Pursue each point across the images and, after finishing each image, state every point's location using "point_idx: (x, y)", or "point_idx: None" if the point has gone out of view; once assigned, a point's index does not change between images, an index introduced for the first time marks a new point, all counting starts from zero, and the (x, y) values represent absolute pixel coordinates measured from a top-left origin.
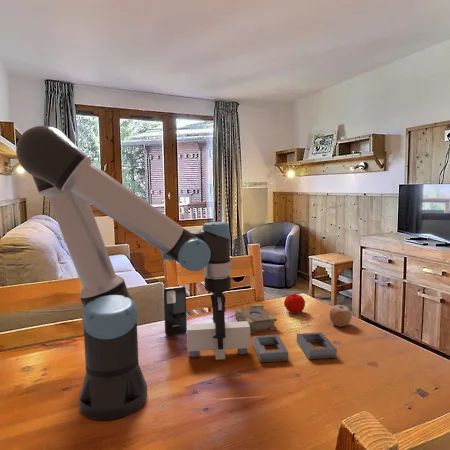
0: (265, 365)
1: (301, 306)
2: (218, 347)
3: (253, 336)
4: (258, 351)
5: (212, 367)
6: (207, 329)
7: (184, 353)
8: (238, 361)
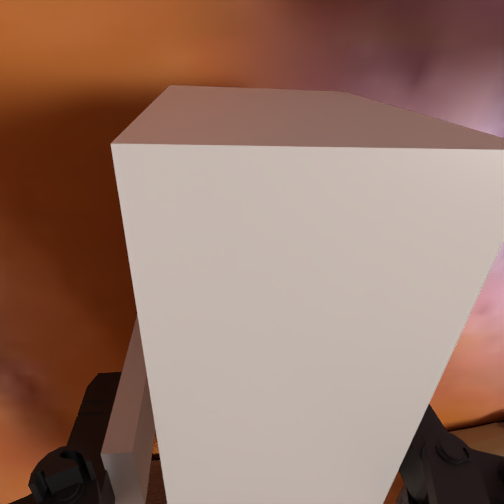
0: None
1: None
2: (87, 393)
3: None
4: (156, 498)
5: (61, 263)
6: (166, 473)
7: (321, 46)
8: None
